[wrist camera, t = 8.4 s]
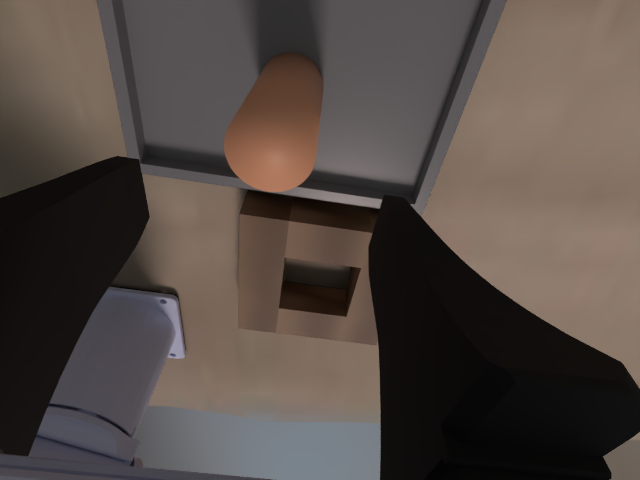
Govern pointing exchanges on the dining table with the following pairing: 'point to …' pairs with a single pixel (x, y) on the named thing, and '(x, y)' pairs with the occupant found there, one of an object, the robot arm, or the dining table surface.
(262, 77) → the pin
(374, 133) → the tray
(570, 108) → the dining table surface
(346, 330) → the socket block
